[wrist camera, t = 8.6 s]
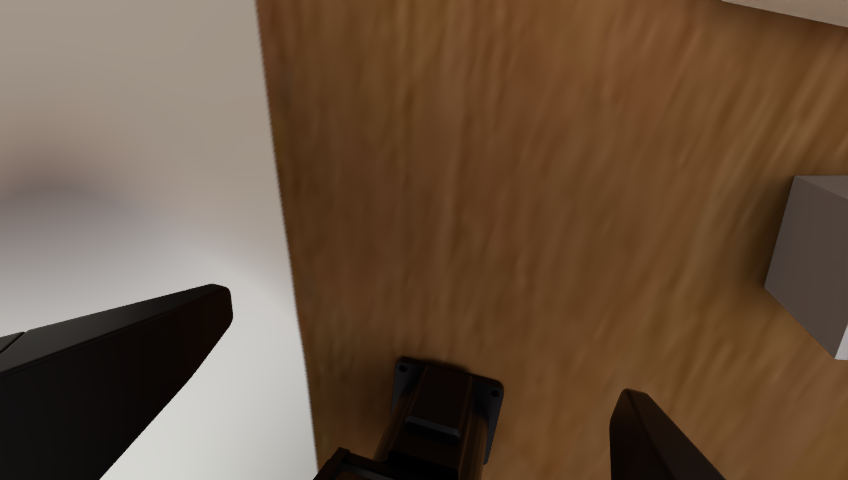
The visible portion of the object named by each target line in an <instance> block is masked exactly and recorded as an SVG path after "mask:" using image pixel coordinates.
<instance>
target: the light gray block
mask: <svg viewBox="0 0 848 480" xmlns="http://www.w3.org/2000/svg"><path fill="white" fill-rule="evenodd" d="M764 288H765V289H766V290H767V291H768V292H769V293H770V294H771V295H772V296H773V297H774V298H775V299H776V300H777V301H778V302H779V303H780V304H781V305H782V306H783V307H784V308H785V309H786V310H787V311H788V312H789V313H790V314H791V315H792V316H793V317H794V318H795V319H796V320H797V321H798V322H799V323H800V324H801V325H802V326H803V327H804V328H805V329H806V330H807V331H808V332H809V333H810V334H811V335H812V336H813V337H814V338H815V339H816V340H817V341H818V342H819V343H820V344H821V345H822V346H823V348H824V349H825V350H826V351H827V352H828V353H829V354H830V355H831V356H832V357H833V358H834V359H842V360H848V175H821V176H794V179H793V183H792V187H791V190H790V194H789V198H788V201H787V205H786V209H785V212H784V216H783V219H782V223H781V227H780V230H779V234H778V238H777V241H776V245H775V249H774V252H773V256H772V259H771V263H770V267H769V270H768V274H767V278H766V281H765V285H764Z"/></svg>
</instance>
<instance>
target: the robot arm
mask: <svg viewBox="0 0 848 480" xmlns="http://www.w3.org/2000/svg"><path fill="white" fill-rule="evenodd" d="M232 319H233V310H232V302H231V294H230V291H229V289H228V288H227V287H224V286H220V285H216V284H208V285H204V286H200V287H196V288H192V289H189V290H185V291H181V292H177V293H173V294H169V295H165V296H161V297H157V298H153V299H149V300H146V301H141V302H137V303H134V304H130V305H126V306H122V307H118V308H114V309H110V310H107V311H102V312H98V313H94V314H90V315H86V316H82V317H79V318H75V319H71V320H67V321H63V322H59V323H55V324H51V325H47V326H43V327H39V328H35V329H31V330H28V331H27V332H19V333H15V334H11V335H8V336H4V337H0V480H100V478H101V477H102V476H103V475H104V474H105V473H106V472H107V471H108V469H109V468H110V467H111V466H112V465H113V464H114V463H115V462H116V461H117V459H118V458H119V457H120V456H121V455H122V454H123V453H124V452H125V451H126V450H127V448H128V447H129V446H130V445H131V444H132V443H133V442H134V440H135V439H136V438H137V437H138V436H139V435H140V434H141V433H142V432H143V431H144V430H145V428H146V427H147V426H148V425H149V424H150V423H151V421H153V420H154V418H155V417H156V416H157V415H158V414H159V413H160V412H161V411H162V410H163V408H164V407H165V406H166V405H167V404H168V403H169V402H170V401H171V399H172V398H173V397H174V396H175V395H176V394H177V393H178V392H179V391H180V389H181V388H182V387H183V386H184V385H185V384H186V383H187V382H188V380H189V379H190V378H191V377H192V376H193V374H194V373H195V372H196V370H197V369H198V368H199V367H200V365H201V364H202V363H203V361H204V360H205V359H206V357H207V356H208V354H209V353H210V352H211V351H212V349H213V348H214V346H215V345H216V344H217V342H218V341H219V340H220V338H221V337H222V336H223V334H224V333H225V332H226V330H227V329H228V328H229V326H230V325H231V322H232ZM402 365H404V366H406V368H404V367H403V366H402ZM492 390H496V391H498V392H494V391H492ZM503 396H504V387H503V385H501V384H500V383H498V382H495V381H491V380H487V379H483V378H480V377H476V376H472V375H468V374H465V373H461V372H457V371H453V370H449V369H446V368H442V367H438V366H434V365H431V364H427V363H423V362H419V361H415V360H412V359H408V358H400V359H399V360H398V361H397V363H396V366H395V374H394V385H393V396H392V407H391V417H390V420H389V422H388V424H387V426H386V429H385V431H384V433H383V436H382V438H381V440H380V443H379V445H378V447H377V450H376V452H375V454H374V457H373V459H369V458H366V457H363V456H360V455H357V454H354V453H350V450H348V449H344V448H341V447H339V448H338V449H337V451H336V452H335V453H334V455H333V456H332V457H331V458H330V459H328V461H327V462H326V463H325V464H324V466H323V467H322V468H321V470H320V471H319V472H318V474H317V475H316V477H315V478H314V479H313V480H481V476H482V469H483V465H485V464H486V463H487V462H488V458H489V454H490V450H491V446H492V441H493V437H494V433H495V429H496V425H497V421H498V417H499V413H500V408H501V404H502V400H503ZM609 433H610V459H611V480H726V479H725V478H724V477H723V476H722V475H721V474H720V472H719V471H718V470H717V469H716V468H715V467H714V466H713V465H712V464H711V463H710V462H709V460H708V459H707V458H706V457H705V456H704V455H703V454H702V453H701V452H700V451H699V450H698V448H697V447H696V446H695V445H694V444H693V443H692V442H691V441H690V440H689V439H688V438H687V436H686V435H685V434H684V433H683V432H682V431H681V430H680V429H679V428H678V427H677V426H676V425H675V423H674V422H673V421H672V420H671V419H670V418H669V417H668V416H667V415H666V414H665V413H664V411H663V410H662V409H661V408H660V407H659V406H658V405H657V404H656V403H655V402H654V401H653V399H652V398H651V397H650V396H649V395H648V394H646V393H644V392H640V391H636V390H632V389H628V388H627V389H624V390H623V391H622V392H621V394H620V396H619V399H618V401H617V404H616V406H615V409H614V411H613V414H612V416H611V420H610V427H609Z"/></svg>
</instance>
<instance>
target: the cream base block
mask: <svg viewBox="0 0 848 480" xmlns="http://www.w3.org/2000/svg"><path fill="white" fill-rule="evenodd" d="M721 1H725V2H729V3H734V4H739V5H744V6H748V7H753V8H758V9H763V10H767V11H772V12H777V13H782V14H786V15H791V16H796V17H801V18H805V19H810V20H815V21H820V22H824V23H829V24H834V25H839V26H844V27H848V0H721Z"/></svg>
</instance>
